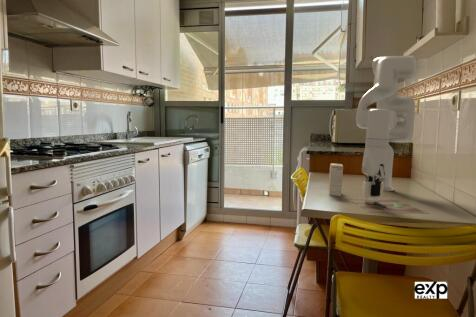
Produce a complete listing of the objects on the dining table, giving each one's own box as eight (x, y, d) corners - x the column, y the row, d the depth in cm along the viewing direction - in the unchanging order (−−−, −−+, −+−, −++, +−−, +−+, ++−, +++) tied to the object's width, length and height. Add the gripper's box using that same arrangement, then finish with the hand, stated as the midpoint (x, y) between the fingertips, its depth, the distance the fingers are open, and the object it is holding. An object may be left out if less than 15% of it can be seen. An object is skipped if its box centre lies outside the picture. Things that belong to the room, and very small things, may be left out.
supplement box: (341, 199, 142) (343, 165, 140) (328, 198, 143) (330, 165, 141) (339, 195, 150) (342, 163, 148) (327, 194, 151) (329, 162, 149)
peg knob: (359, 200, 133) (361, 180, 132) (377, 201, 134) (379, 181, 133) (374, 208, 121) (376, 186, 120) (394, 209, 122) (396, 187, 121)
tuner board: (342, 199, 140) (342, 196, 140) (391, 200, 142) (391, 197, 142) (370, 216, 116) (370, 212, 116) (429, 217, 118) (429, 213, 118)
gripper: (356, 142, 137) (353, 189, 138) (377, 145, 120) (372, 199, 122) (375, 142, 137) (371, 190, 139) (399, 146, 121) (394, 199, 123)
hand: (372, 194), depth 131 cm, fingers open, 3 cm apart
